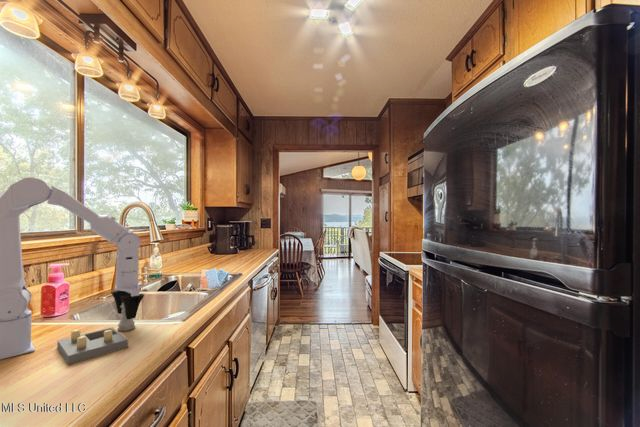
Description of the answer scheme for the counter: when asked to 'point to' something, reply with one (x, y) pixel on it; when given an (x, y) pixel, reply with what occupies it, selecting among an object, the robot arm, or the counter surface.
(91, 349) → the pin board
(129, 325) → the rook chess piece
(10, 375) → the counter surface
